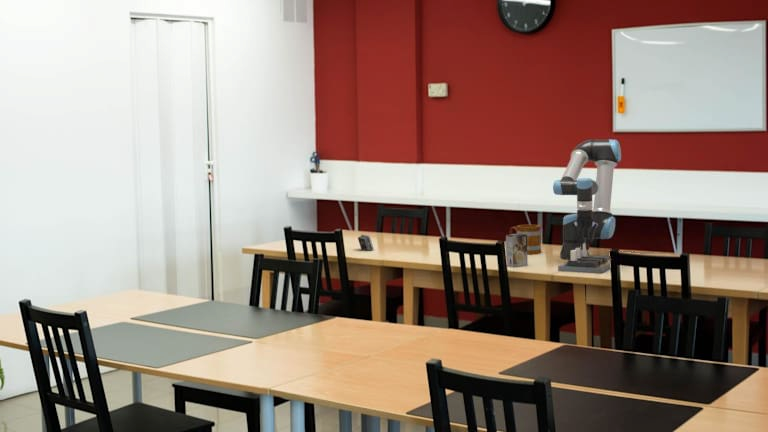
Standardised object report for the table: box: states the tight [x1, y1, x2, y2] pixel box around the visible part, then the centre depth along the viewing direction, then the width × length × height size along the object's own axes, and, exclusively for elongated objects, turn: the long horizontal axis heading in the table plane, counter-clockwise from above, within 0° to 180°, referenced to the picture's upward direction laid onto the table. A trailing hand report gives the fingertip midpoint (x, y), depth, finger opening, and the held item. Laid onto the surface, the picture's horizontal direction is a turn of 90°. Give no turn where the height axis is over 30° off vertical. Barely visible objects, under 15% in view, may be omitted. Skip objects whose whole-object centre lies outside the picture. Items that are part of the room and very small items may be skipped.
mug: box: [509, 223, 542, 256], centre depth 565 cm, size 20×14×15 cm
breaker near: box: [570, 250, 577, 261], centre depth 505 cm, size 3×2×5 cm
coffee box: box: [505, 233, 529, 268], centre depth 524 cm, size 9×6×16 cm
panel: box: [557, 254, 611, 274], centre depth 511 cm, size 26×22×4 cm
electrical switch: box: [357, 233, 375, 252], centre depth 590 cm, size 9×5×9 cm, turn 30°
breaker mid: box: [575, 248, 582, 259], centre depth 513 cm, size 3×2×5 cm
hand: (585, 256), depth 511 cm, fingers closed
